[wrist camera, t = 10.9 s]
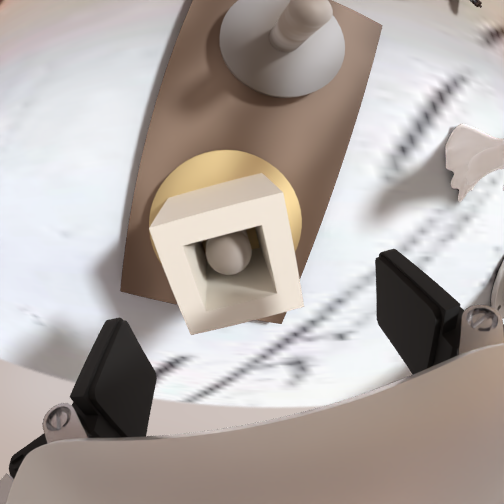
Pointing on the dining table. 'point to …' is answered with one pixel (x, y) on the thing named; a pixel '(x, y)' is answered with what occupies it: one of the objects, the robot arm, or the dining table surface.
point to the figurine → (472, 157)
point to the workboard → (250, 121)
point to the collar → (220, 223)
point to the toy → (476, 3)
